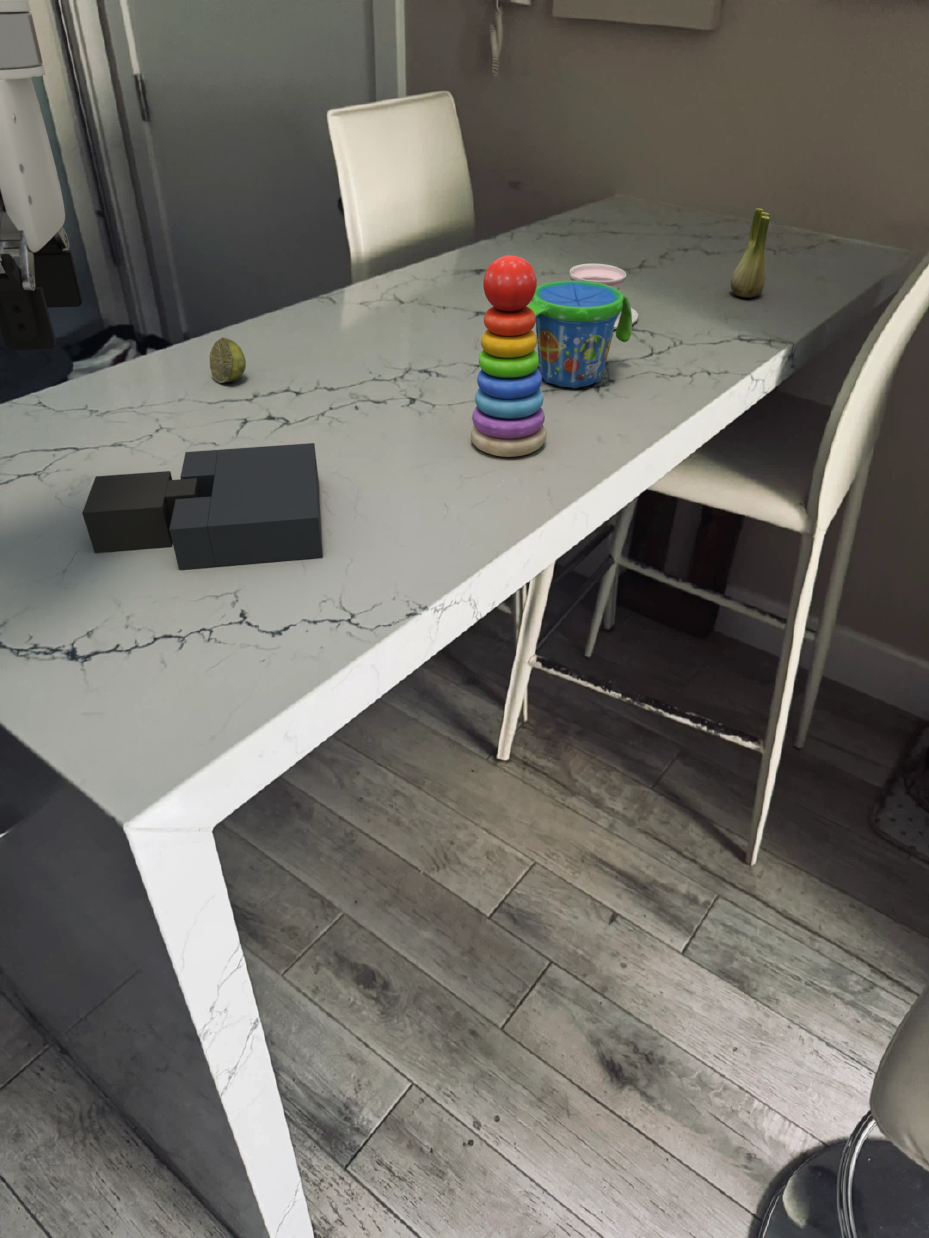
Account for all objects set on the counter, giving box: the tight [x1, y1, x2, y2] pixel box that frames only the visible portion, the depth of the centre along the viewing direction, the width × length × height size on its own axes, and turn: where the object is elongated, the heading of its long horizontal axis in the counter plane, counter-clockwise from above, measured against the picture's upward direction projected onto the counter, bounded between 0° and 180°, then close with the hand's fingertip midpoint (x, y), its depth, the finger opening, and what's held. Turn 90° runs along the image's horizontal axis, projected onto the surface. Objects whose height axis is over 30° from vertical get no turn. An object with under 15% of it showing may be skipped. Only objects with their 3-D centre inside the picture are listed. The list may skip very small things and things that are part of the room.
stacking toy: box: [470, 254, 547, 458], centre depth 86 cm, size 8×8×19 cm
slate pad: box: [169, 442, 324, 571], centre depth 78 cm, size 12×14×4 cm
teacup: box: [568, 263, 639, 330], centre depth 122 cm, size 12×12×6 cm
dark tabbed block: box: [81, 470, 201, 554], centre depth 77 cm, size 9×6×4 cm
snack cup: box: [527, 280, 633, 389], centre depth 103 cm, size 16×10×10 cm
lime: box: [209, 337, 247, 384], centre depth 104 cm, size 4×5×5 cm
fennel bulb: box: [730, 207, 771, 298], centre depth 128 cm, size 6×5×12 cm
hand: (47, 326), depth 64 cm, fingers open, 9 cm apart
